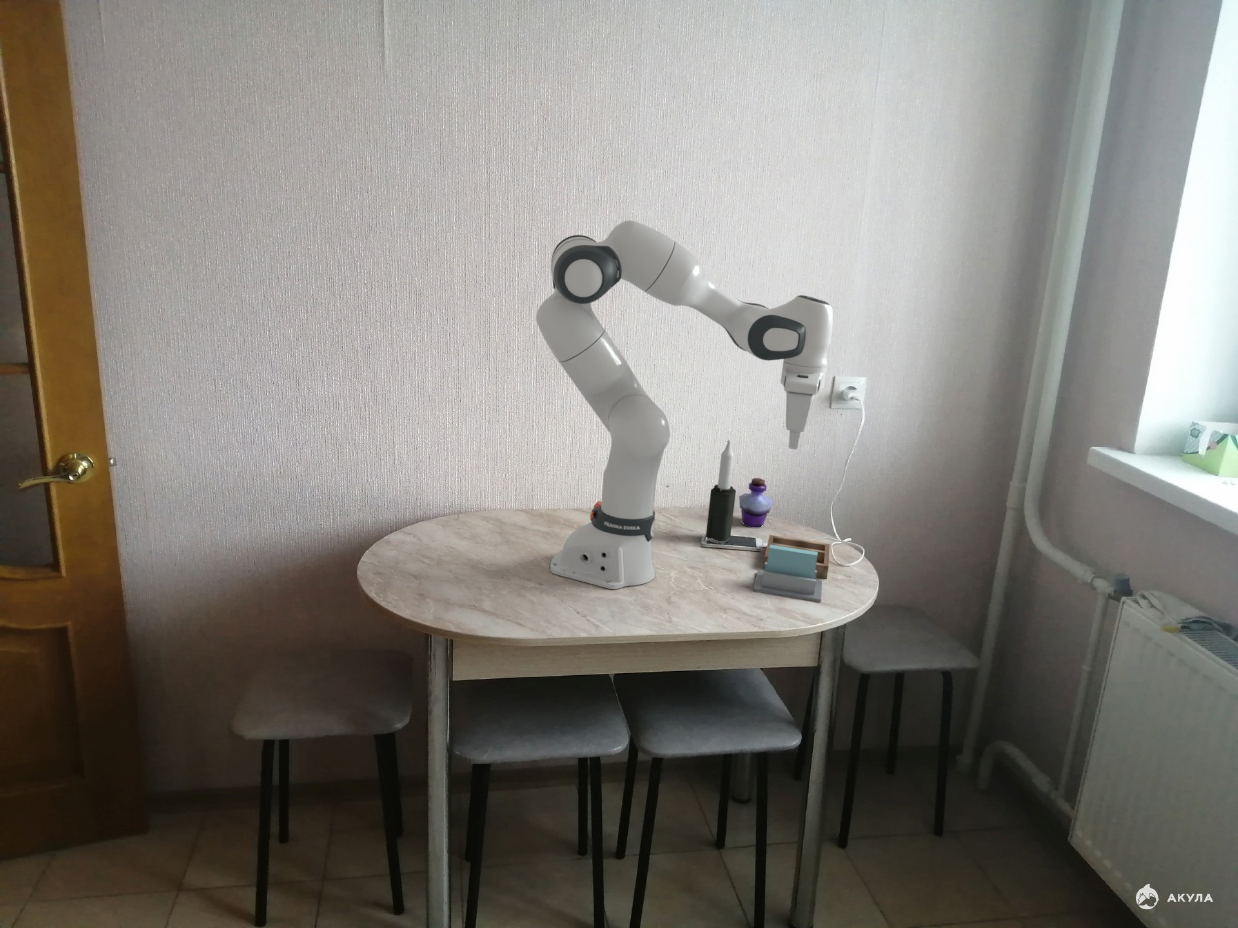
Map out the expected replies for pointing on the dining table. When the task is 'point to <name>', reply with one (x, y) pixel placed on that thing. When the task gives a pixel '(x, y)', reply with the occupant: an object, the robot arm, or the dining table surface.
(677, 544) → the dining table surface
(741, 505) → the potion bottle
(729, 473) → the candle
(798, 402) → the robot arm
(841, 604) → the dining table surface
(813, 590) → the slate stand
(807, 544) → the rack
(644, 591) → the dining table surface
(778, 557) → the teal flat block
